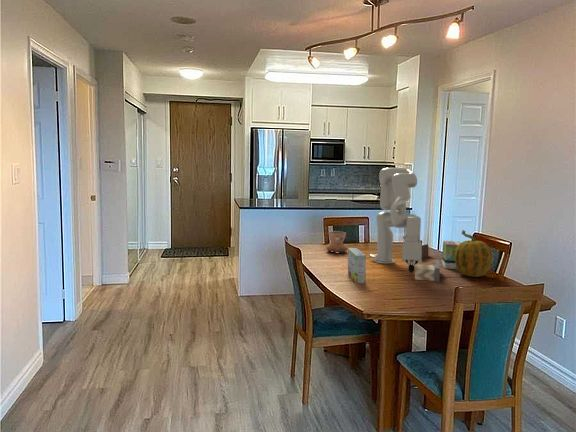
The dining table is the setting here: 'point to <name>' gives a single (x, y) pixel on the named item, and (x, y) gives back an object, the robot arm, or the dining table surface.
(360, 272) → the snack box
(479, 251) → the pumpkin
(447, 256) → the tea box
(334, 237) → the brown piece
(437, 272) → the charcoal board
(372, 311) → the dining table surface
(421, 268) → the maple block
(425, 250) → the letter holder
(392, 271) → the dining table surface
